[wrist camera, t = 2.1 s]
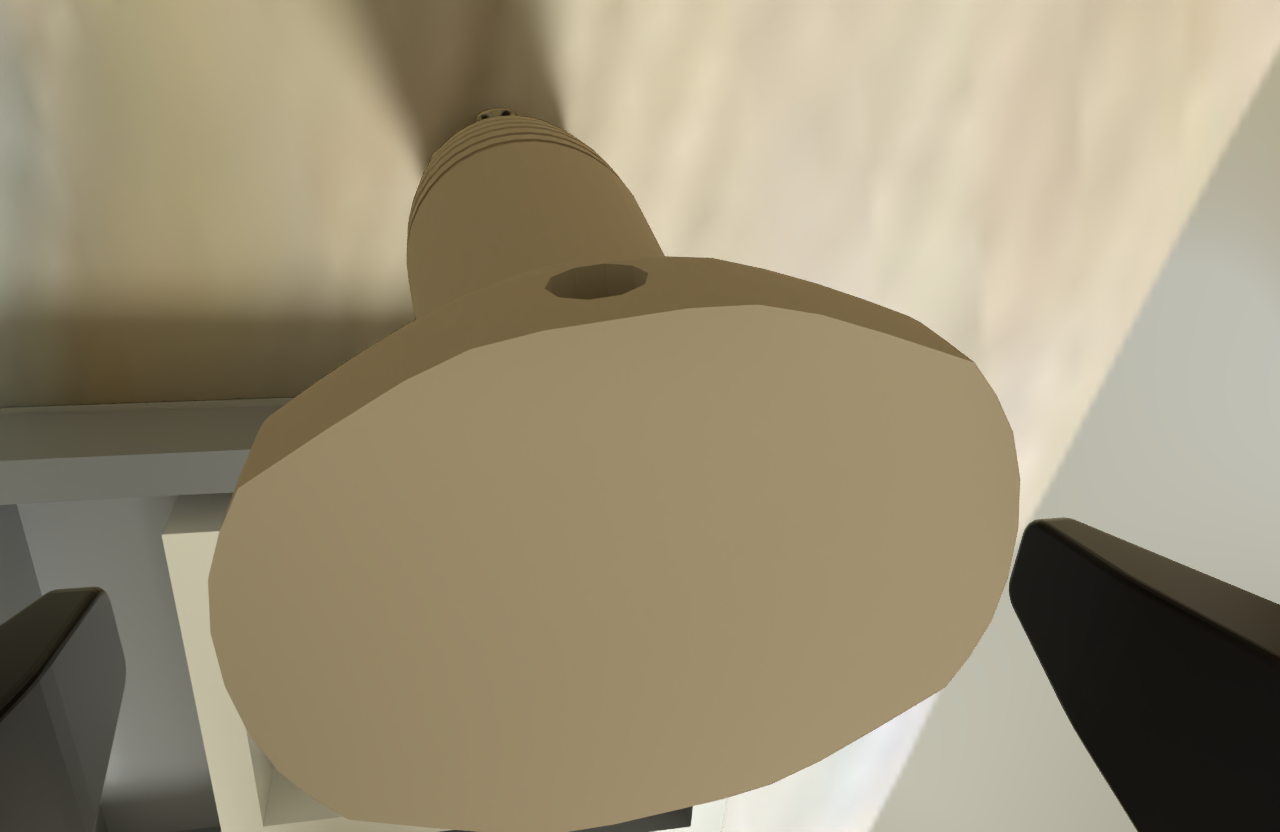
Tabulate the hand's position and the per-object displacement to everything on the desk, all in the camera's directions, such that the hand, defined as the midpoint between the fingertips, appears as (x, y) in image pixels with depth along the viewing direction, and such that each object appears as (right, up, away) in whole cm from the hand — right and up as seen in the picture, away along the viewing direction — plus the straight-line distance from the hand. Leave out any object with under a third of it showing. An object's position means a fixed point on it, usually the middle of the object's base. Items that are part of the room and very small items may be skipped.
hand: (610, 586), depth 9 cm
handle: (-3, +7, +12) cm, 14 cm away
